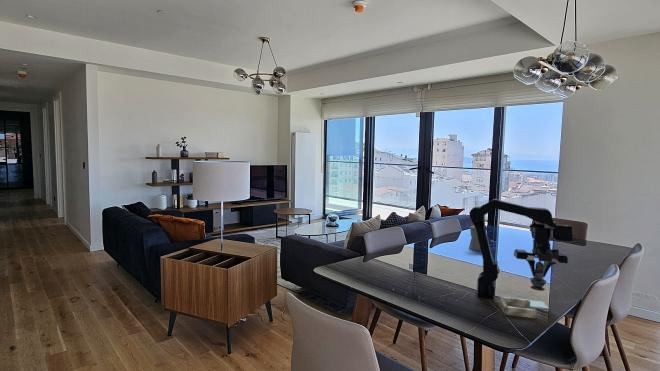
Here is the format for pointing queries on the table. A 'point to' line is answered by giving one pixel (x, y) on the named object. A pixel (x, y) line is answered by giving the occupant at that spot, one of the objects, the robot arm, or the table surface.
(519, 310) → the beige bracket
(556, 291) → the table surface
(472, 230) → the coffeepot
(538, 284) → the dark grey chess piece
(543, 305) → the pad
